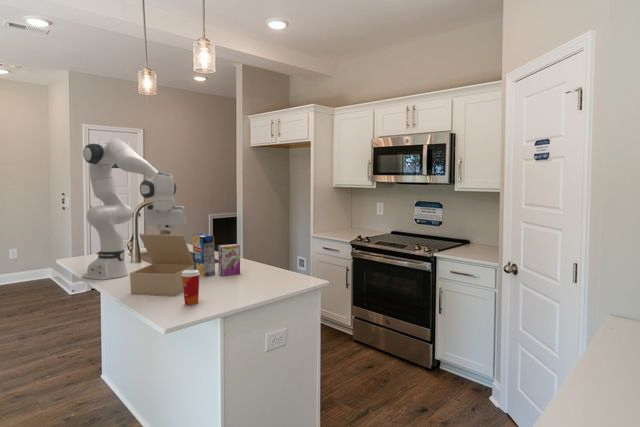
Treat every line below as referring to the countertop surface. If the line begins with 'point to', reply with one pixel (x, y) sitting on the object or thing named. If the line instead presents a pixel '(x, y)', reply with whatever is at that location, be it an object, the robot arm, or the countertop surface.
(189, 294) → the paper cup
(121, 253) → the robot arm
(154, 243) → the lid flap
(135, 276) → the carton
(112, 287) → the countertop surface
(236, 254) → the candy bar box
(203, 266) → the beverage box
